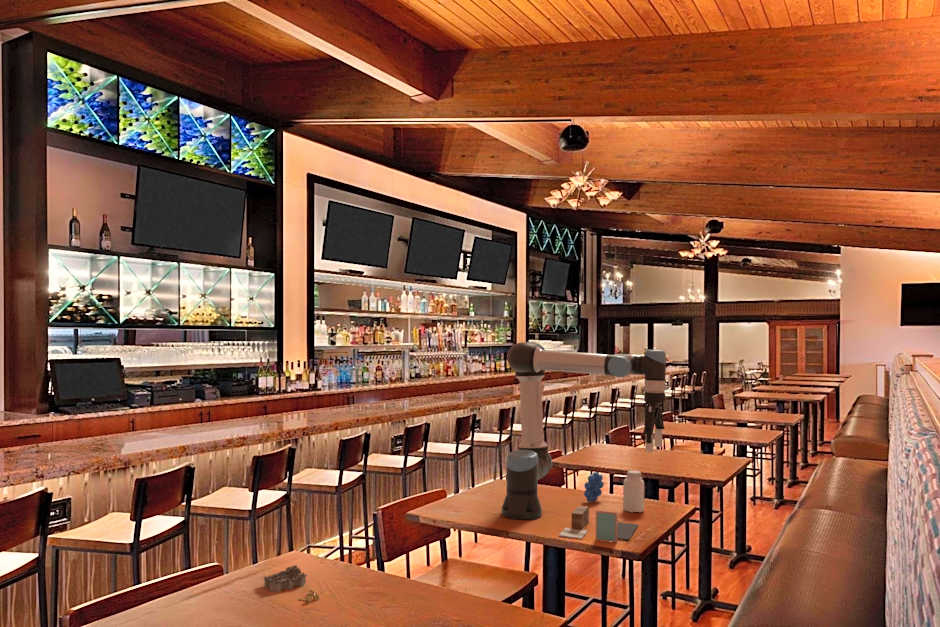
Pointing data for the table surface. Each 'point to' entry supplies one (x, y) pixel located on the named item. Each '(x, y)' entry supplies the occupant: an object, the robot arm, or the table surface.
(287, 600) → the table surface
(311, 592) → the olive irregular clump
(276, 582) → the grey textured block
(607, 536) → the tile
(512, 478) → the robot arm
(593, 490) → the grapes
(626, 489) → the pill bottle
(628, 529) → the mat
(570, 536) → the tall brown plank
